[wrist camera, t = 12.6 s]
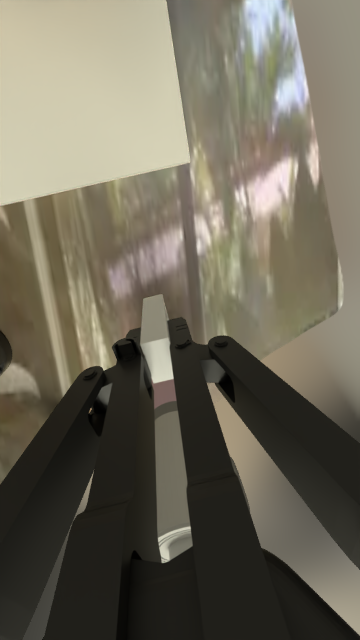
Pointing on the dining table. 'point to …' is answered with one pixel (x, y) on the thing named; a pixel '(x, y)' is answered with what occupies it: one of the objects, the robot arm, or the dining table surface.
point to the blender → (171, 475)
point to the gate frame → (86, 94)
